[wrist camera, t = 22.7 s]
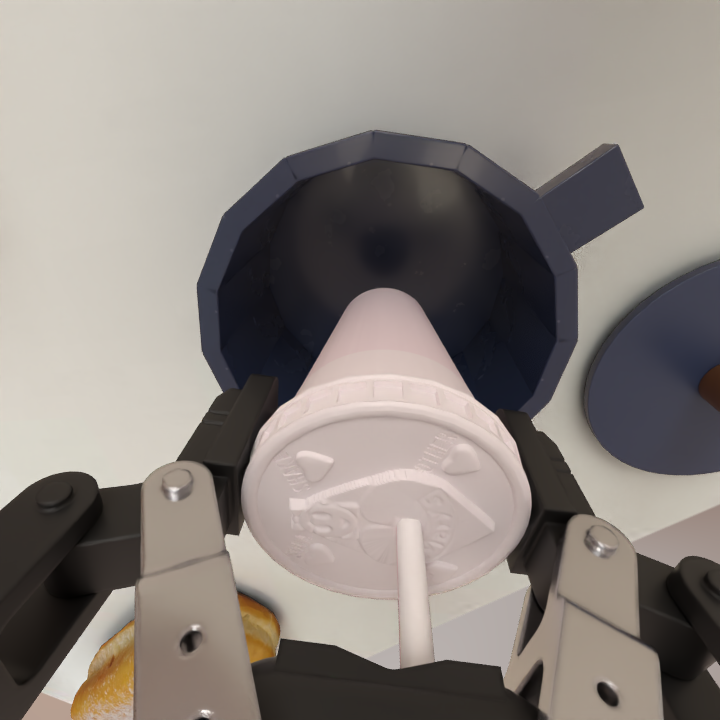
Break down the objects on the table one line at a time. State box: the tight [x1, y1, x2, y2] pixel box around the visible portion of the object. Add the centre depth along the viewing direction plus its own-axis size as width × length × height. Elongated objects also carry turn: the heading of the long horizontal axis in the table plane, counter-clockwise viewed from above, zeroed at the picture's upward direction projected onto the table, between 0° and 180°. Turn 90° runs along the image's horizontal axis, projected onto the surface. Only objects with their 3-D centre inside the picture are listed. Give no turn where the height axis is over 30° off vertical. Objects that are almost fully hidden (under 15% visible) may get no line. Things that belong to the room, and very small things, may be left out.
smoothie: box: [241, 288, 532, 669], centre depth 11 cm, size 6×6×14 cm
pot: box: [197, 130, 644, 419], centre depth 19 cm, size 15×20×8 cm
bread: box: [71, 592, 280, 720], centre depth 41 cm, size 13×26×8 cm, turn 139°
